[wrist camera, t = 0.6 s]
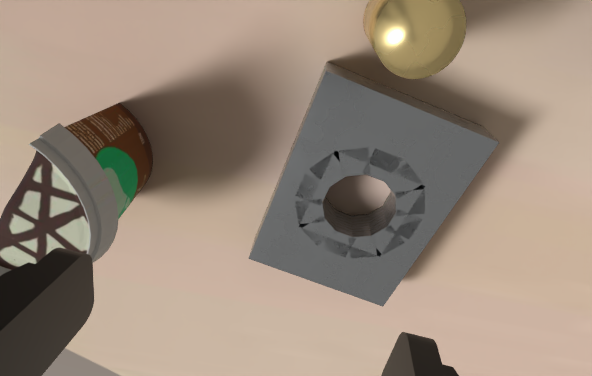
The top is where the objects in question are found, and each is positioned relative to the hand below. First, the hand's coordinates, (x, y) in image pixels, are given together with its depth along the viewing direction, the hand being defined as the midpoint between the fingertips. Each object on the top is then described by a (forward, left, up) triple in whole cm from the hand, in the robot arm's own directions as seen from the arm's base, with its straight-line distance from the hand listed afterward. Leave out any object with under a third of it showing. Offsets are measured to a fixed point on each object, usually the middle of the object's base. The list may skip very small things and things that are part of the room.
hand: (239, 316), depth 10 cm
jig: (+5, +7, -20) cm, 22 cm away
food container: (+11, -11, -20) cm, 26 cm away
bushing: (-7, +4, -20) cm, 22 cm away
